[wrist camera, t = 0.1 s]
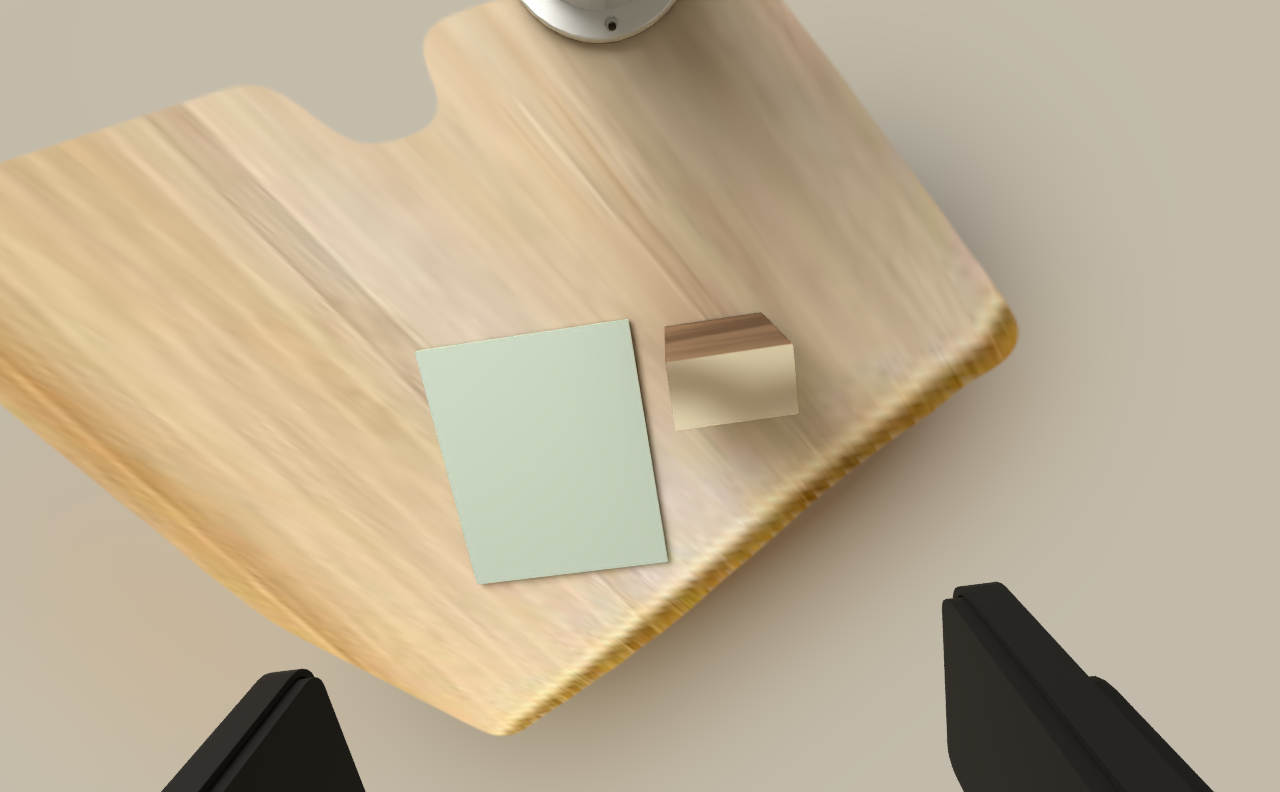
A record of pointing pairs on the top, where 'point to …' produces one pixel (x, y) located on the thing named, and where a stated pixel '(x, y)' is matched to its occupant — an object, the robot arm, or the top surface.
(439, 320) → the top surface
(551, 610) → the top surface
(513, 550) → the sage mat
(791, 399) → the walnut slab
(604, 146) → the top surface
